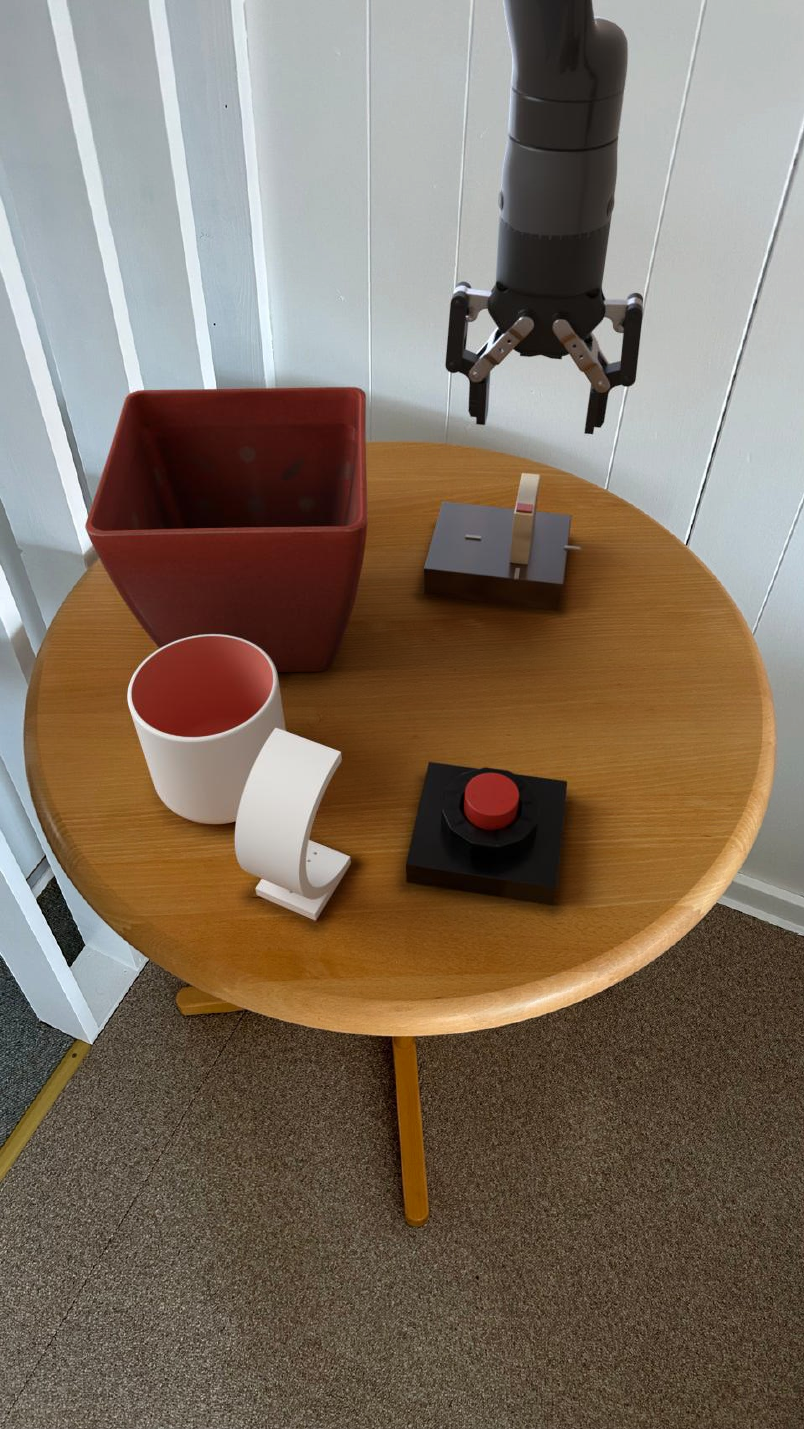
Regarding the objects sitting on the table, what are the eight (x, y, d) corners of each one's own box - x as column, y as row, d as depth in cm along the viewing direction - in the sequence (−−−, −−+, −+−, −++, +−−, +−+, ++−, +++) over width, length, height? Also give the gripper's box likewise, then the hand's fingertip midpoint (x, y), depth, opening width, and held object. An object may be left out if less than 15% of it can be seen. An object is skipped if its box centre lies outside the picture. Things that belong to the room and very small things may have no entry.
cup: (285, 832, 69) (269, 741, 61) (144, 832, 69) (112, 740, 61) (297, 727, 75) (284, 633, 68) (169, 726, 75) (142, 632, 68)
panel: (579, 541, 91) (584, 513, 88) (571, 613, 84) (576, 585, 82) (441, 526, 92) (442, 499, 90) (423, 595, 86) (423, 567, 83)
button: (520, 792, 66) (522, 776, 65) (514, 834, 64) (516, 819, 63) (467, 784, 67) (469, 768, 66) (460, 826, 64) (461, 810, 63)
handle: (517, 521, 88) (522, 470, 84) (534, 523, 88) (540, 472, 84) (509, 562, 84) (514, 510, 80) (527, 565, 84) (533, 513, 80)
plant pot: (372, 550, 90) (366, 382, 78) (375, 699, 77) (367, 527, 65) (167, 555, 90) (127, 388, 77) (134, 706, 77) (80, 535, 64)
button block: (563, 799, 70) (570, 764, 67) (553, 905, 64) (560, 872, 61) (428, 780, 72) (429, 745, 69) (405, 882, 66) (405, 848, 63)
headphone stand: (351, 863, 67) (341, 752, 58) (307, 933, 63) (290, 826, 54) (293, 839, 68) (275, 727, 59) (248, 906, 65) (221, 798, 56)
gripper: (664, 193, 67) (627, 408, 78) (459, 182, 68) (453, 393, 80) (663, 237, 62) (623, 458, 74) (442, 224, 64) (438, 442, 75)
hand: (534, 424), depth 77 cm, fingers open, 8 cm apart
